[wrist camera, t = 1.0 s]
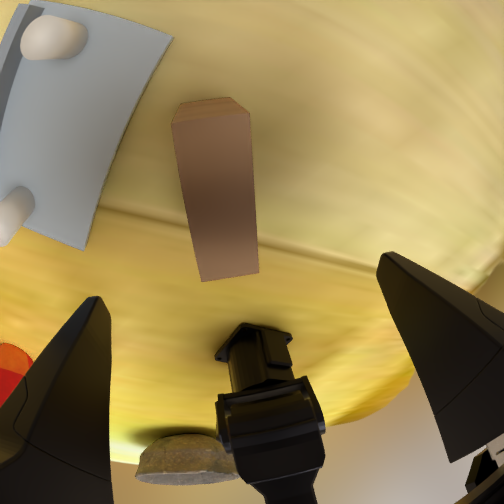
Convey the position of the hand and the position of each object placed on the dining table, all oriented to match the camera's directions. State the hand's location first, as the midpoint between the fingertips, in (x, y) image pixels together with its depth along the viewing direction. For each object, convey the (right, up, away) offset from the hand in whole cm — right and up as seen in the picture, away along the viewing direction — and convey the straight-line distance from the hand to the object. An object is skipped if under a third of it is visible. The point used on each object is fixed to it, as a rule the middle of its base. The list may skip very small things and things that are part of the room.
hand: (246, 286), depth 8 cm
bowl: (-14, -37, +40) cm, 55 cm away
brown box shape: (-2, +7, +9) cm, 12 cm away
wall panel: (-13, +9, +5) cm, 17 cm away
